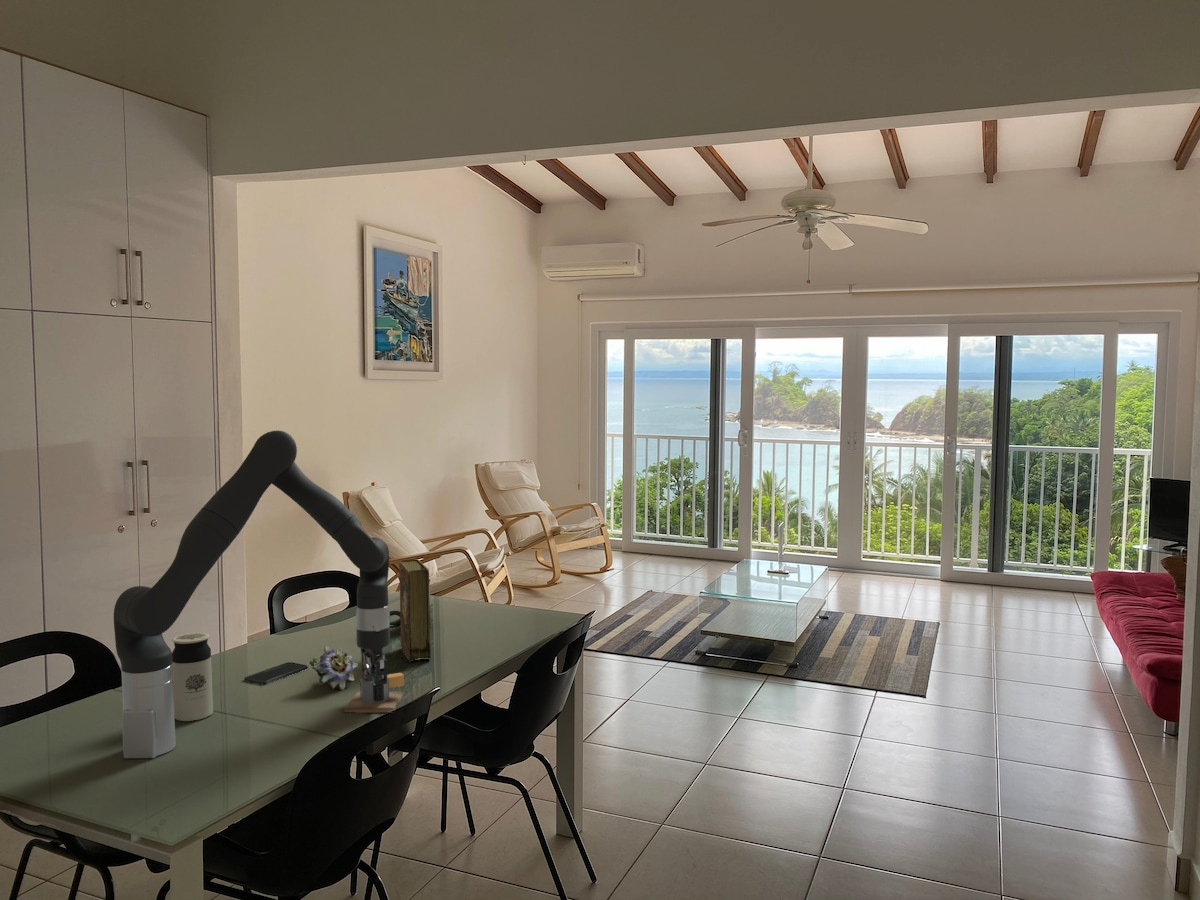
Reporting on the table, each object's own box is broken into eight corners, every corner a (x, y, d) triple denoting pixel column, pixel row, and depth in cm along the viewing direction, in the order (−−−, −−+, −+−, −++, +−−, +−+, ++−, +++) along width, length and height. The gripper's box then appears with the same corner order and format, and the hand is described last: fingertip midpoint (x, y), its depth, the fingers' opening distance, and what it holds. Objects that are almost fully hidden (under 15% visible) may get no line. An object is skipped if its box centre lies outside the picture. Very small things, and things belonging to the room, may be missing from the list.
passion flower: (342, 710, 217) (326, 681, 209) (309, 696, 222) (292, 666, 214) (370, 675, 224) (356, 645, 217) (338, 661, 229) (323, 632, 221)
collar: (365, 705, 202) (364, 684, 201) (358, 698, 207) (357, 677, 207) (406, 698, 207) (406, 677, 206) (398, 690, 212) (398, 670, 211)
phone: (310, 666, 233) (263, 682, 220) (310, 670, 233) (263, 686, 220) (288, 661, 236) (242, 677, 223) (288, 665, 237) (242, 682, 223)
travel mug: (175, 712, 201) (172, 634, 200) (214, 707, 204) (211, 630, 203) (172, 724, 194) (169, 643, 193) (212, 719, 197) (209, 639, 196)
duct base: (393, 712, 200) (392, 688, 200) (344, 712, 200) (343, 688, 200) (404, 695, 211) (403, 672, 211) (358, 695, 211) (357, 672, 211)
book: (400, 647, 251) (398, 560, 250) (419, 645, 253) (417, 558, 252) (410, 663, 236) (408, 571, 235) (430, 661, 238) (428, 569, 237)
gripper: (349, 620, 209) (350, 690, 210) (365, 634, 197) (367, 709, 198) (380, 616, 213) (382, 685, 214) (398, 630, 200) (399, 703, 201)
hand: (374, 696), depth 206 cm, fingers closed on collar, 5 cm apart
